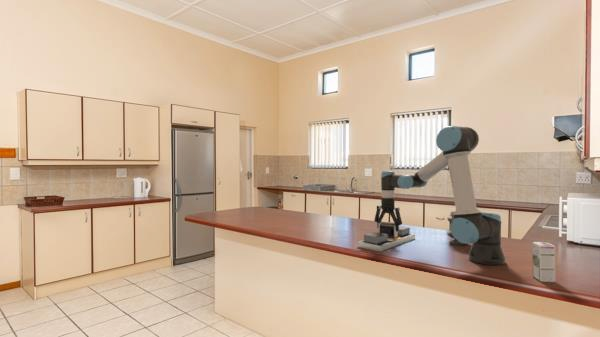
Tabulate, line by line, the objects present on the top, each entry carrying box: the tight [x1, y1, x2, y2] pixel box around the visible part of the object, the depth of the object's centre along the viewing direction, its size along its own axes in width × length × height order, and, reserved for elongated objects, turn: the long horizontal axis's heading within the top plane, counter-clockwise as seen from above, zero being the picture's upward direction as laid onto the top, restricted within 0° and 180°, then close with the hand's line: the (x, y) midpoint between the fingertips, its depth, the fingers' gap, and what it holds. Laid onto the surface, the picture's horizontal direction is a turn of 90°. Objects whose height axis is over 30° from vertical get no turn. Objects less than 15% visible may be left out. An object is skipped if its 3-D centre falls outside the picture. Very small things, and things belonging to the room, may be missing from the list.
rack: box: [357, 225, 416, 252], centre depth 193 cm, size 14×40×7 cm, turn 135°
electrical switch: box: [380, 220, 396, 239], centre depth 193 cm, size 9×5×9 cm, turn 56°
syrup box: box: [532, 241, 556, 283], centre depth 132 cm, size 6×6×14 cm
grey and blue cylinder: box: [446, 211, 469, 246], centre depth 191 cm, size 12×12×18 cm
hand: (387, 235), depth 193 cm, fingers closed on electrical switch, 9 cm apart
